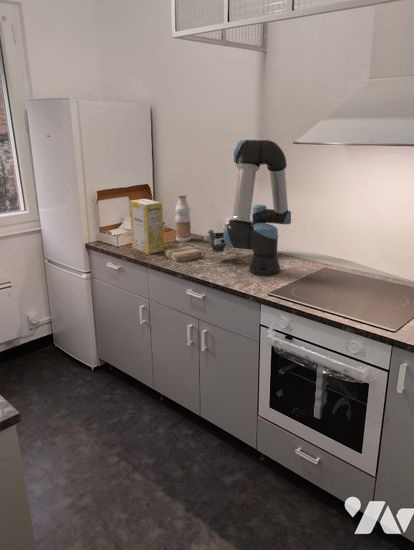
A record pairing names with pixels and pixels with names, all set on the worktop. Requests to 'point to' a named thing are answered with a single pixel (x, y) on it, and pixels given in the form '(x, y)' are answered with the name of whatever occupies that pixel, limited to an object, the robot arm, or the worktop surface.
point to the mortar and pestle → (212, 242)
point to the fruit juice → (182, 220)
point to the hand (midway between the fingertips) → (210, 239)
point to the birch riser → (182, 253)
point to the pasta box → (146, 225)
